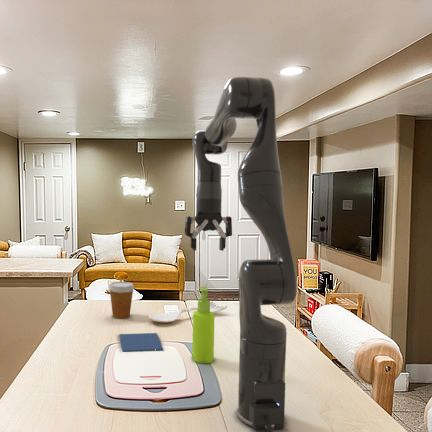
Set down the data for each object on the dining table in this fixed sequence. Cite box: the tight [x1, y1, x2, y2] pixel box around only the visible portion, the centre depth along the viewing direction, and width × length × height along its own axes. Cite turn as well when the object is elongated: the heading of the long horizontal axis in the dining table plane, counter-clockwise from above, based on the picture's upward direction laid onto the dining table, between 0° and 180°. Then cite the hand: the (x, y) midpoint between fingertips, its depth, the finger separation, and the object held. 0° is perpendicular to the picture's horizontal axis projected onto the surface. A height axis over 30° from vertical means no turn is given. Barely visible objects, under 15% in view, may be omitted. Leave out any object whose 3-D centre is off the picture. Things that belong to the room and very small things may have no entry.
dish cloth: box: [119, 332, 164, 353], centre depth 133 cm, size 14×12×1 cm
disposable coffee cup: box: [108, 281, 135, 319], centre depth 160 cm, size 10×10×12 cm
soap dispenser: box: [191, 286, 215, 364], centre depth 120 cm, size 6×7×20 cm
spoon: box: [147, 301, 228, 323], centre depth 159 cm, size 9×32×4 cm, turn 121°
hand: (207, 250), depth 132 cm, fingers open, 8 cm apart
